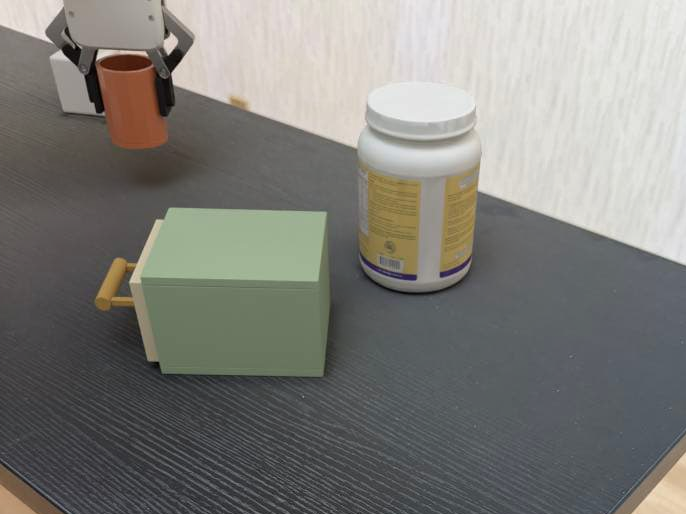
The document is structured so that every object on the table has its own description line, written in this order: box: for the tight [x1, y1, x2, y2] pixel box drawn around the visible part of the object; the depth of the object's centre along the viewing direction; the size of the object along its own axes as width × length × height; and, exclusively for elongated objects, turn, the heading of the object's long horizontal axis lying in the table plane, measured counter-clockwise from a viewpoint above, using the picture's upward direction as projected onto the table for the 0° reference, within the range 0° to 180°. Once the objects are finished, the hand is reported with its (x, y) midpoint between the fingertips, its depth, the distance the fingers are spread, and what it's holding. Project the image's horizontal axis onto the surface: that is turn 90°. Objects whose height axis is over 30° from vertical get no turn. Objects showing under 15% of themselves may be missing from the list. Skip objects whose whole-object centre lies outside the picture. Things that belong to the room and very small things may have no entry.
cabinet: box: [140, 207, 331, 378], centre depth 74 cm, size 15×13×10 cm
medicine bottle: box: [49, 8, 121, 117], centre depth 112 cm, size 7×7×12 cm
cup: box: [95, 53, 169, 150], centre depth 92 cm, size 7×7×8 cm
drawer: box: [94, 219, 164, 363], centre depth 74 cm, size 18×11×8 cm, turn 91°
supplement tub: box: [356, 81, 483, 293], centre depth 81 cm, size 12×12×17 cm
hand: (134, 109), depth 93 cm, fingers closed on cup, 6 cm apart
